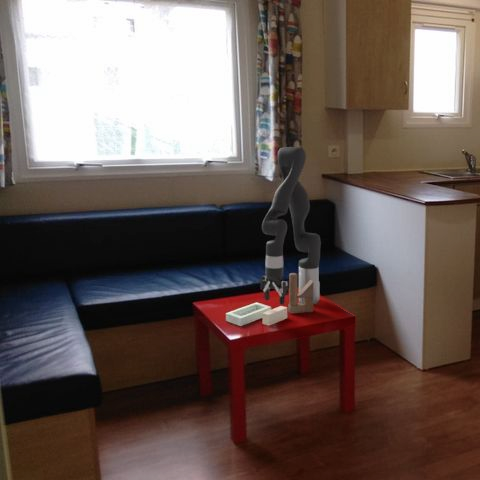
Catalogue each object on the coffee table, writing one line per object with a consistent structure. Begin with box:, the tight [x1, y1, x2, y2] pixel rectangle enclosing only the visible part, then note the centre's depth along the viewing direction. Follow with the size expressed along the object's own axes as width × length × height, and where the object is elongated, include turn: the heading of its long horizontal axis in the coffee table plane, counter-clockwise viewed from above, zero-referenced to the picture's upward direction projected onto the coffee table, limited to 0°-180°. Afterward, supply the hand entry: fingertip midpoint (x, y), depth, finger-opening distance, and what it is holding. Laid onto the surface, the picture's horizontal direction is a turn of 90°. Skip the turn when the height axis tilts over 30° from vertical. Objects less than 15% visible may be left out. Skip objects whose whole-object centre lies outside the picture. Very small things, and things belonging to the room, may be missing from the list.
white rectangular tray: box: [225, 302, 272, 327], centre depth 233 cm, size 19×9×4 cm, turn 134°
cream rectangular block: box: [261, 305, 288, 326], centre depth 229 cm, size 12×4×5 cm, turn 134°
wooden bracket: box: [287, 272, 314, 314], centre depth 237 cm, size 4×11×18 cm, turn 102°
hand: (274, 302), depth 227 cm, fingers open, 8 cm apart
